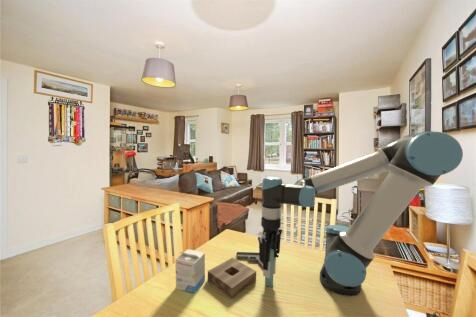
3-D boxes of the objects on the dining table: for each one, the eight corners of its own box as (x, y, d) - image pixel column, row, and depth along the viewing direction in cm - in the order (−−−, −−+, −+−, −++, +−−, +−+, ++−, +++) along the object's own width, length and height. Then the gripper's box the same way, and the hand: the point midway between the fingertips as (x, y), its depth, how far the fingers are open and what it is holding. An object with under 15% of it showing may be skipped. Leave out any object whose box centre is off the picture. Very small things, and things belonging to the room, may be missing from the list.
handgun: (273, 266, 91) (269, 252, 103) (235, 265, 91) (236, 251, 103) (273, 271, 91) (269, 256, 103) (235, 269, 91) (236, 255, 103)
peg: (274, 284, 82) (275, 250, 81) (270, 288, 79) (271, 253, 78) (268, 280, 84) (269, 247, 83) (263, 284, 81) (264, 250, 81)
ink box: (205, 280, 83) (205, 248, 82) (194, 294, 75) (194, 259, 74) (187, 275, 86) (187, 244, 85) (175, 288, 78) (175, 254, 77)
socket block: (256, 280, 83) (256, 271, 83) (231, 298, 73) (232, 288, 73) (231, 266, 93) (232, 257, 93) (207, 280, 83) (207, 271, 83)
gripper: (274, 210, 88) (272, 262, 90) (250, 219, 76) (249, 279, 78) (290, 214, 83) (288, 269, 84) (266, 224, 71) (265, 289, 73)
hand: (269, 274), depth 81 cm, fingers closed on peg, 3 cm apart
